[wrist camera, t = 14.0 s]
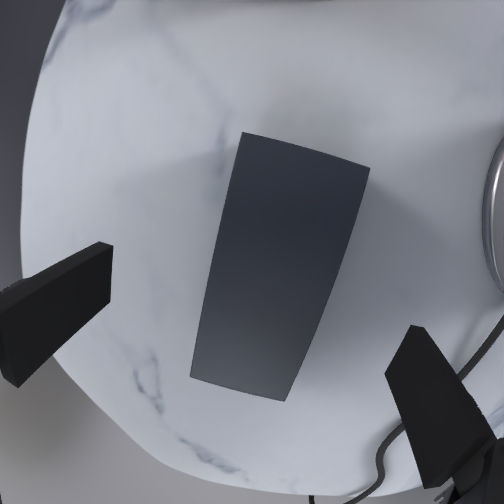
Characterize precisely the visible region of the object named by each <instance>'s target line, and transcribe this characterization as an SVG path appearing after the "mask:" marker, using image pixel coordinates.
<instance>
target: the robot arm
mask: <svg viewBox="0 0 504 504" xmlns="http://www.w3.org/2000/svg"><path fill="white" fill-rule="evenodd" d="M482 233H483V244H484V251H485V257H486V261H487V264H488V268H489V270H490V273H491V275H492V277H493V279H494V281H495V283H496V284H497V286H498V287H499V288H500V289H501V290H502V291H503V292H504V138H503V140H502V141H501V143H500V145H499V146H498V149H497V151H496V153H495V155H494V157H493V160H492V163H491V166H490V169H489V173H488V177H487V181H486V186H485V193H484V200H483V213H482ZM112 259H113V246H112V245H109V244H106V243H103V242H100V241H99V242H97V243H95V244H93V245H91V246H89V247H87V248H85V249H83V250H81V251H79V252H77V253H75V254H73V255H71V256H69V257H67V258H65V259H64V260H62V261H60V262H58V263H56V264H54V265H52V266H50V267H48V268H47V269H45V270H43V271H41V272H39V273H38V274H36V275H34V276H32V277H29V278H26V279H22V280H19V281H17V282H15V283H14V284H12V285H10V287H7V288H5V289H3V290H2V292H1V291H0V370H1V373H2V375H3V377H4V378H5V379H6V380H7V381H9V382H10V383H11V384H13V385H14V386H15V387H17V388H19V387H20V386H21V385H22V384H23V383H24V382H25V381H26V380H27V379H28V378H29V377H30V376H31V375H32V374H33V373H34V372H35V371H36V370H37V369H38V368H39V367H40V366H41V365H42V364H43V363H44V362H45V361H46V360H47V359H48V358H49V357H51V356H52V355H53V354H54V353H55V352H56V351H57V350H58V349H59V348H60V347H61V346H62V345H63V344H64V343H65V342H66V341H68V340H69V339H70V338H71V337H72V336H73V335H74V334H75V333H76V332H77V331H78V330H79V329H81V328H82V327H83V326H84V325H85V324H86V323H87V322H88V321H89V320H91V319H92V318H93V317H94V316H95V315H96V314H97V313H98V312H99V311H101V310H102V309H103V308H104V307H105V306H106V305H107V304H109V303H110V299H111V274H112ZM503 330H504V315H503V316H502V318H501V319H500V321H499V322H498V324H497V325H496V327H495V328H494V329H493V331H492V332H491V334H490V335H489V336H488V338H487V339H486V340H485V342H484V343H483V344H482V346H481V347H480V348H479V349H478V351H477V352H476V353H475V354H474V356H473V357H472V358H471V359H470V360H469V362H468V363H467V364H466V365H465V366H464V367H463V368H462V370H461V371H460V372H459V373H458V374H457V375H456V373H455V371H454V370H453V368H452V367H451V365H450V364H449V363H448V361H447V360H446V358H445V357H444V355H443V354H442V352H441V351H440V349H439V348H438V347H437V345H436V344H435V342H434V341H433V339H432V338H431V337H430V335H429V334H428V332H427V331H426V330H425V328H424V327H419V326H414V325H410V327H409V329H408V331H407V333H406V335H405V337H404V339H403V341H402V343H401V345H400V347H399V348H398V350H397V352H396V354H395V356H394V358H393V359H392V361H391V363H390V365H389V366H388V368H387V370H386V372H385V373H384V374H385V376H386V379H387V381H388V384H389V387H390V389H391V392H392V394H393V397H394V400H395V402H396V405H397V408H398V411H399V413H400V416H401V419H402V423H401V424H400V425H398V426H397V427H396V428H395V429H394V430H393V431H392V432H391V433H390V434H389V435H388V436H387V438H386V439H385V440H384V441H383V443H382V444H381V446H380V447H379V449H378V451H377V453H376V467H377V471H378V479H377V481H376V483H375V484H373V485H372V486H371V487H370V488H369V489H367V490H366V491H365V492H363V493H362V494H360V495H359V496H357V497H356V498H354V499H352V500H350V501H348V502H346V503H344V504H355V503H357V502H359V501H360V500H362V499H364V498H365V497H367V496H368V495H369V494H371V493H372V492H373V491H375V490H376V489H377V488H378V487H379V486H380V485H381V484H382V482H383V480H384V478H385V471H384V466H383V455H384V452H385V450H386V449H387V447H388V446H389V445H390V444H391V442H392V441H393V440H394V439H395V438H396V437H397V436H398V435H399V434H400V433H401V432H403V431H404V430H406V433H407V436H408V439H409V442H410V445H411V448H412V451H413V454H414V457H415V460H416V464H417V467H418V470H419V473H420V477H421V480H422V483H423V487H424V489H428V488H434V487H440V486H441V485H443V484H444V483H445V482H446V481H447V480H448V479H449V478H451V477H452V478H453V481H454V483H453V484H451V485H450V486H449V487H448V488H447V489H446V490H444V491H443V492H442V493H441V494H439V495H438V496H437V497H436V498H435V500H434V501H435V502H436V501H437V500H439V499H440V498H441V497H444V499H443V500H442V501H441V502H439V504H504V438H499V439H498V440H497V438H496V436H495V435H494V433H493V431H492V429H491V427H490V426H489V424H488V422H487V420H486V419H485V417H484V415H482V412H481V410H480V409H479V407H477V406H478V405H477V404H476V402H475V400H474V399H473V397H472V396H471V395H470V394H469V393H468V392H467V390H466V388H465V387H464V385H463V384H462V382H461V381H462V380H463V379H464V378H465V377H466V376H467V375H468V373H469V372H470V371H471V370H472V369H473V368H474V367H475V366H476V364H477V363H478V362H479V361H480V360H481V358H482V357H483V356H484V355H485V353H486V352H487V351H488V350H489V348H490V347H491V346H492V345H493V343H494V342H495V341H496V339H497V338H498V337H499V335H500V334H501V332H502V331H503ZM0 504H2V501H1V495H0ZM309 504H315V502H314V495H309Z"/></svg>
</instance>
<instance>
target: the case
mask: <svg viewBox="0 0 504 504" xmlns="http://www.w3.org/2000/svg"><path fill="white" fill-rule="evenodd" d="M369 172H370V168H369V167H366V166H363V165H360V164H357V163H354V162H351V161H348V160H345V159H342V158H339V157H335V156H332V155H329V154H326V153H322V152H319V151H315V150H312V149H309V148H305V147H301V146H298V145H294V144H290V143H287V142H283V141H279V140H275V139H271V138H267V137H262V136H258V135H254V134H249V133H245V132H242V134H241V138H240V142H239V146H238V150H237V154H236V158H235V162H234V166H233V170H232V174H231V178H230V183H229V187H228V191H227V195H226V200H225V204H224V208H223V213H222V217H221V222H220V226H219V230H218V235H217V240H216V244H215V249H214V253H213V258H212V263H211V268H210V272H209V277H208V282H207V287H206V292H205V297H204V302H203V307H202V312H201V317H200V323H199V328H198V333H197V338H196V344H195V349H194V355H193V360H192V366H191V372H190V377H192V378H195V379H198V380H201V381H205V382H208V383H211V384H215V385H218V386H222V387H225V388H229V389H233V390H237V391H240V392H244V393H248V394H252V395H257V396H261V397H265V398H270V399H274V400H279V401H283V402H284V401H285V400H286V398H287V396H288V393H289V391H290V389H291V387H292V385H293V383H294V380H295V378H296V376H297V374H298V371H299V369H300V367H301V365H302V362H303V360H304V358H305V355H306V353H307V351H308V348H309V346H310V344H311V341H312V339H313V336H314V334H315V332H316V329H317V327H318V324H319V322H320V319H321V317H322V314H323V311H324V309H325V306H326V304H327V301H328V298H329V296H330V293H331V290H332V288H333V285H334V282H335V279H336V277H337V274H338V271H339V268H340V265H341V262H342V260H343V257H344V254H345V251H346V248H347V245H348V242H349V239H350V236H351V233H352V229H353V226H354V223H355V220H356V217H357V213H358V210H359V207H360V203H361V200H362V197H363V193H364V190H365V186H366V183H367V179H368V175H369Z"/></svg>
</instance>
